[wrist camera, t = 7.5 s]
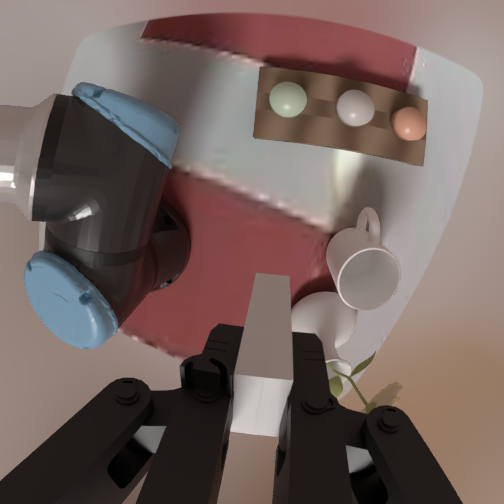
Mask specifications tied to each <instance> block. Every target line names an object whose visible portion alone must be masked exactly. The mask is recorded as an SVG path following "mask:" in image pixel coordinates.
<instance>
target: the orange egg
mask: <svg viewBox="0 0 504 504" xmlns="http://www.w3.org/2000/svg"><path fill="white" fill-rule="evenodd" d="M391 128H392V130H393V132H394V134H395V135H396V136H397V137H398V138H400V139H402V140H405V141H411V140H419V139H421V138H422V137H423V136H424V134H425V132H426V121H425V118H424V116H423V115H422V113H421V112H420V111H419V110H417V109H415V108H413V107H405V108H403V109H400V110H397V111H396V112H394V114H393V115H392V117H391Z"/></svg>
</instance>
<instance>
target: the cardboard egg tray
mask: <svg viewBox="0 0 504 504" xmlns="http://www.w3.org/2000/svg"><path fill="white" fill-rule="evenodd" d="M282 82H293V83H296V84H298V85H299V86H301V87H302V88H303V90H304V91H305V93H306V96H307V103H306V106H305V108H304V110H303V112H302V113H301V114H300V115H299V116H297V117H295V118H289V119H287V118H282V117H280V116H278V115H277V114H275V113H274V111H273V110H272V108H271V105H270V93H271V90H272V89H273V88H274V87H275V86H276V85H277V84H279V83H282ZM349 90H360V91H362V92H364V93H366V94H367V95H368V96H369V97H370V98H371V100H372V102H373V104H374V109H375V111H374V116H373V118H372V119H371V120H370V121H369V122H368V123H366V124H364V125H361V126H358V127H350V126H347V125H345V124H343V123H342V122H341V121H340V120H339V119H338V117H337V115H336V112H335V104H336V102H337V100H338V99H339V97H340V96H341V95H342V94H344V93H345V92H346V91H349ZM405 107H413V108H415V109H417V110H419V111H420V112H421V113H422V115H423V116H424V118H425V121H426V131H427V111H428V100H425V99H422V98H419V97H416V96H413V95H410V94H407V93H404V92H400V91H397V90H394V89H390V88H386V87H383V86H379V85H375V84H371V83H367V82H363V81H358V80H354V79H349V78H344V77H339V76H333V75H327V74H321V73H315V72H308V71H300V70H291V69H281V68H269V67H260V70H259V81H258V91H257V101H256V112H255V123H254V133H253V137H254V138H255V139H265V140H275V141H285V142H293V143H301V144H309V145H316V146H323V147H329V148H335V149H341V150H347V151H352V152H358V153H363V154H368V155H373V156H377V157H382V158H387V159H391V160H395V161H399V162H404V163H408V164H411V165H417V166H423V164H424V155H425V144H426V132H425V134H424V136H423V137H422V138H421V139H419V140H411V141H405V140H402V139H400V138H398V137H397V136H396V135H395V134H394V132H393V130H392V128H391V117H392V115H393V114H394V112H396V111H397V110H400V109H403V108H405Z"/></svg>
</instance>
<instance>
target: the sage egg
mask: <svg viewBox="0 0 504 504" xmlns="http://www.w3.org/2000/svg"><path fill="white" fill-rule="evenodd" d="M306 103H307V96H306V93H305V91H304V90H303V88H302V87H301V86H299V85H298V84H296V83H293V82H282V83H279V84H277V85H276V86H275V87H274V88H273V89H272V90H271V93H270V105H271V108H272V110H273V111H274V113H275V114H277V115H278V116H280V117H282V118H287V119H289V118H295V117H297V116H299V115H300V114H301V113H302V112H303V110H304V108H305V106H306Z"/></svg>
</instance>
